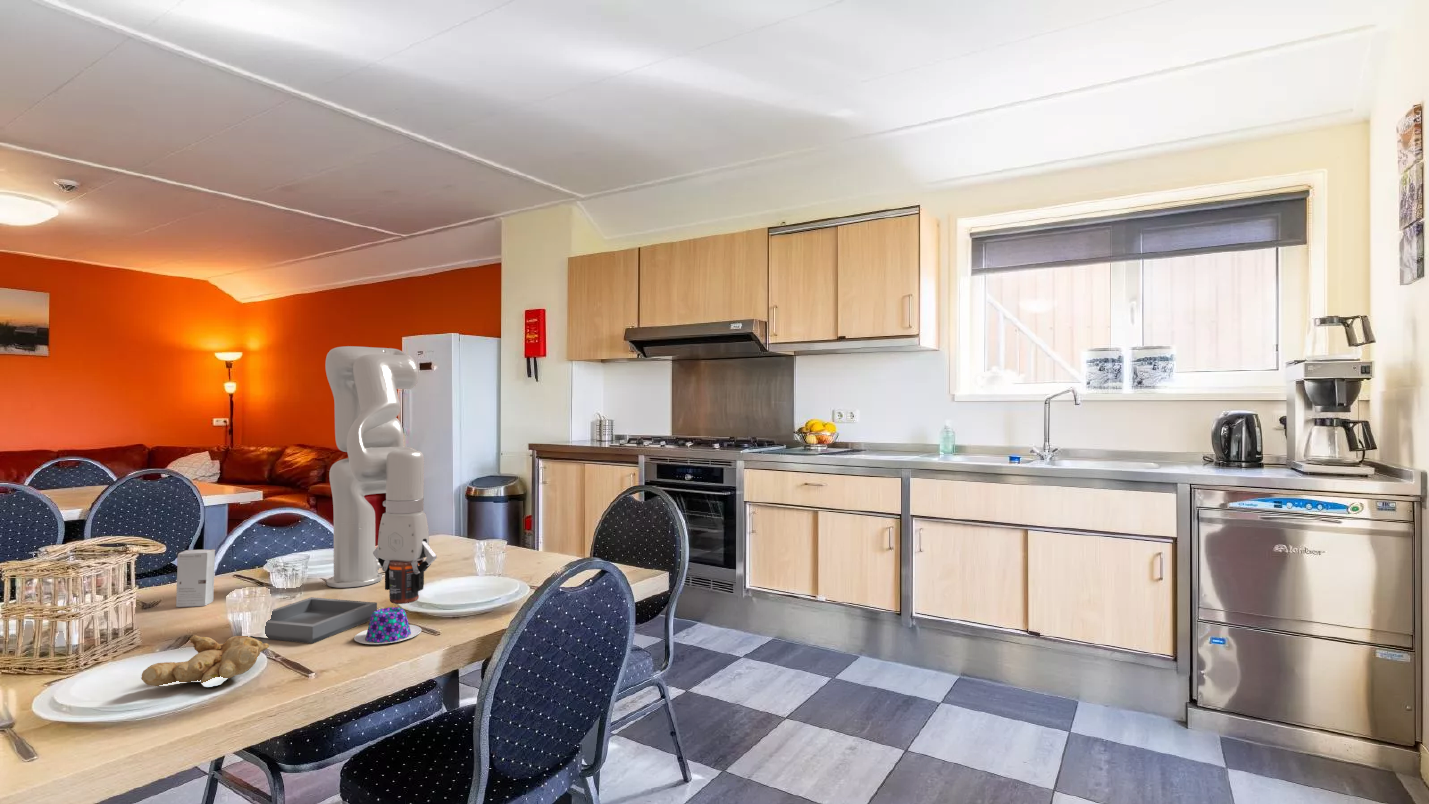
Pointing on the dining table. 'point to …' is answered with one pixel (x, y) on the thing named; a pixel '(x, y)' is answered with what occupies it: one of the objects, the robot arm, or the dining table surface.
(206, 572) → the skincare box
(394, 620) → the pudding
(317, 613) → the tray
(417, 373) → the robot arm
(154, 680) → the ginger root
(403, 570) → the supplement bottle
